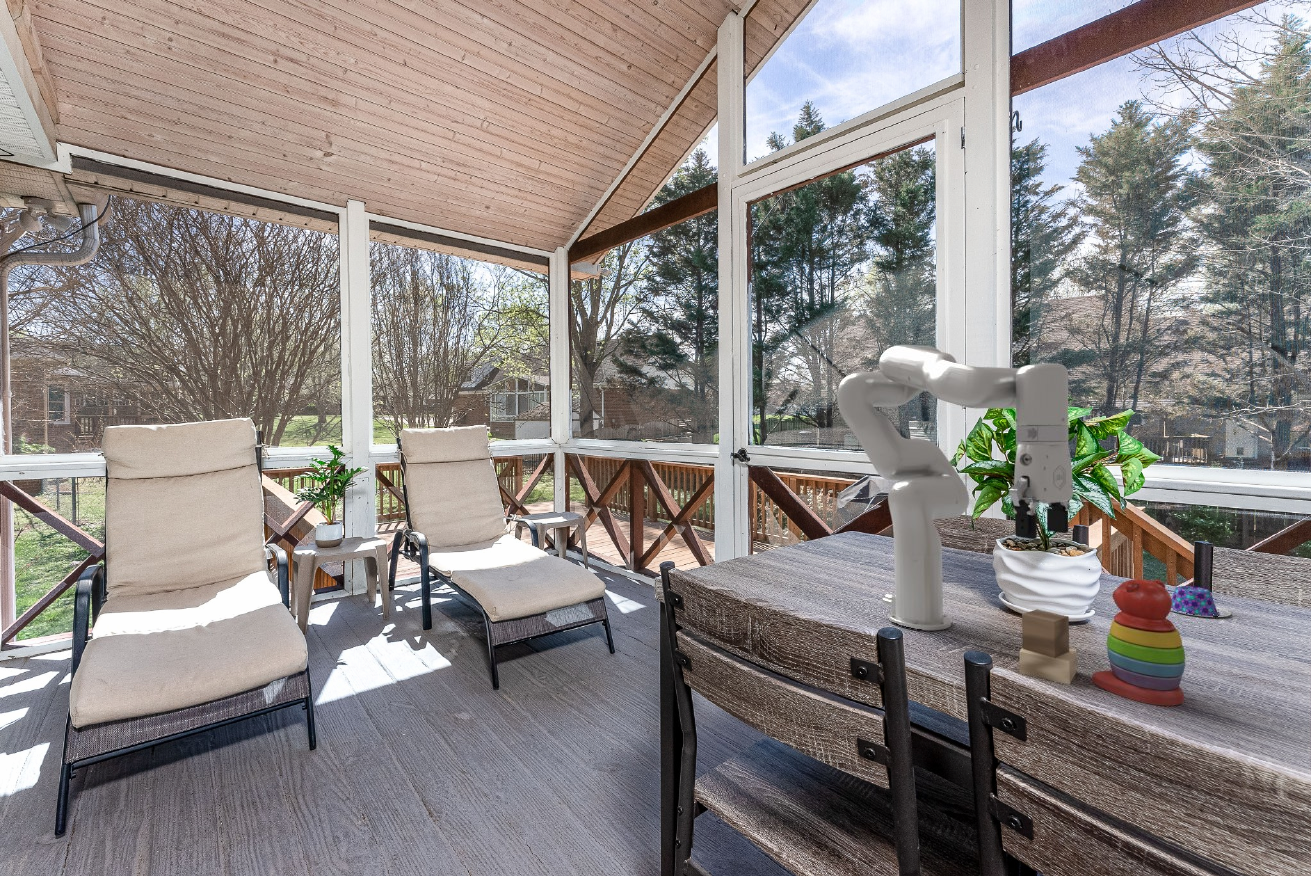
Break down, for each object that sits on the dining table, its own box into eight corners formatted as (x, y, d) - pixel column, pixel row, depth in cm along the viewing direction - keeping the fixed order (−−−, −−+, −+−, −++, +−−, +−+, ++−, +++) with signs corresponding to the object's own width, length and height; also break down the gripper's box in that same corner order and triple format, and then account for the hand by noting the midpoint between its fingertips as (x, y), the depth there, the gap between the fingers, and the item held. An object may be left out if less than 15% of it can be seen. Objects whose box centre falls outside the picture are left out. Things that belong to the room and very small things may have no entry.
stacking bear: (1148, 677, 96) (1146, 570, 96) (1208, 705, 86) (1206, 586, 86) (1084, 679, 95) (1083, 572, 95) (1138, 708, 85) (1136, 588, 85)
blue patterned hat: (1152, 611, 131) (1152, 588, 131) (1164, 600, 138) (1163, 579, 138) (1226, 624, 121) (1226, 599, 121) (1234, 612, 129) (1234, 588, 129)
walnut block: (1054, 657, 95) (1054, 621, 95) (1022, 648, 100) (1022, 614, 100) (1069, 651, 98) (1068, 616, 98) (1037, 642, 102) (1036, 609, 102)
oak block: (1019, 674, 99) (1019, 651, 99) (1029, 662, 104) (1028, 640, 104) (1069, 686, 94) (1069, 661, 94) (1076, 672, 99) (1076, 649, 99)
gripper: (1036, 437, 92) (1037, 543, 92) (1092, 435, 100) (1092, 533, 100) (990, 437, 98) (990, 536, 99) (1046, 435, 107) (1046, 526, 107)
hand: (1042, 534), depth 100 cm, fingers open, 9 cm apart
